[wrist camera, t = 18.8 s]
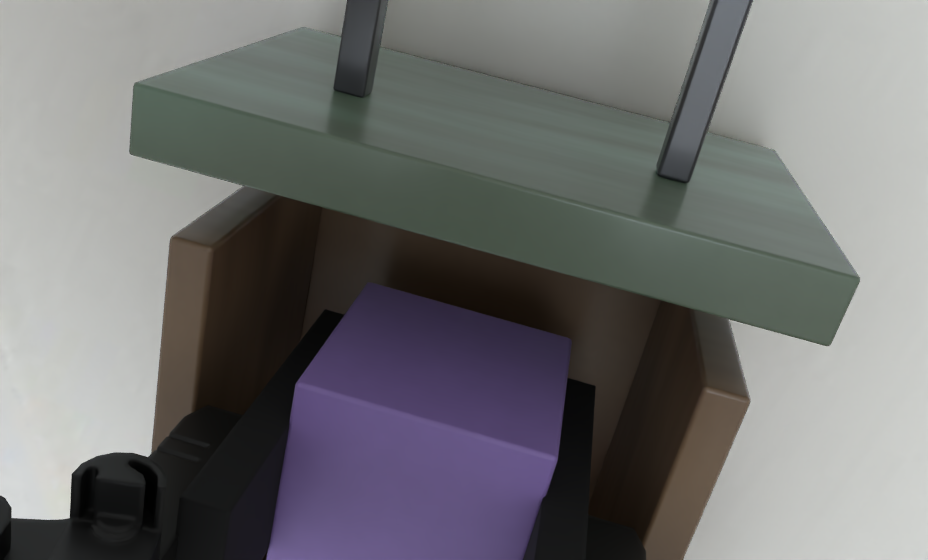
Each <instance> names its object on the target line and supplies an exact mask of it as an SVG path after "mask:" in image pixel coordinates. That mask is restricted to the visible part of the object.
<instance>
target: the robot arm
mask: <svg viewBox="0 0 928 560" xmlns="http://www.w3.org/2000/svg"><path fill="white" fill-rule="evenodd" d="M343 317H344V314H341V313H337V312H334V311H330V310H327V309H325V310H324V311H323V312H322V313H321V315H320V316H319V317H318V319H317V320H316V321H315V323H314V324H313V325H312V326H311V328H310V329H309V330H308V332H307V333H306V334H305V336H304V337H303V338H302V339H301V341H300V342H299V343H298V345H297V346H296V347H295V348H294V350H293V351H292V352H291V354H290V355H289V356H288V358H287V359H286V360H285V361H284V363H283V364H282V365H281V367H280V368H279V369H278V370H277V372H276V373H275V374H274V376H273V377H272V378H271V380H270V381H269V382H268V383H267V385H266V386H265V387H264V389H263V390H262V391H261V393H260V394H259V395H258V396H257V398H256V399H255V400H254V402H253V403H252V404H251V405H250V407H249V408H248V409H247V411H246V412H245V413H244V415H241V414H237V413H234V412H230V411H227V410H224V409H220V408H217V407H213V406H210V405H207V406H205V407H203V408H201V409H199V410H197V411H195V412H193V413H190V414H188V415H186V416H184V418H183V419H182V420H181V421H180V422H179V423H178V424H177V425H176V427H175V428H174V429H173V430H172V431H171V432H170V434H169V436H168V437H166V438H165V439H164V440H163V441H162V442H161V443H160V445H159V446H158V447H157V450H154V451H153V452H152V454H151V455H150V456H149V457H145V456H142V455H138V454H135V453H110V454H105V455H100V456H96V457H94V458H92V459H90V460H88V461H86V462H84V463H82V464H81V465H80V466H79V467H78V468H77V469H76V470H75V471H74V472H73V473H72V483H71V507H70V518H69V519H64V520H37V519H17V518H11V507H10V505H9V504H8V502H7V501H6V499H5V498H4V497H2V496H0V560H262V559H263V557H264V555H265V553H266V552H267V550H268V548H269V544H270V538H271V532H272V526H273V520H274V515H275V509H276V503H277V497H278V491H279V485H280V479H281V473H282V467H283V461H284V455H285V449H286V443H287V437H288V431H289V425H290V414H291V408H292V402H293V396H294V390H295V384H296V383H297V381H298V380H299V379H300V377H301V376H302V374H303V373H304V371H305V370H306V369H307V367H308V366H309V364H310V363H311V362H312V360H313V359H314V357H315V356H316V355H317V353H318V352H319V350H320V349H321V348H322V346H323V345H324V343H325V342H326V340H327V339H328V338H329V336H330V335H331V333H332V332H333V331H334V329H335V328H336V326H337V325H338V324H339V322H340V321H341V319H342V318H343ZM595 390H596V386H594V385H591V384H587V383H584V382H580V381H577V380H573V379H570V378H567V386H566V395H565V403H564V412H563V420H562V429H561V437H560V445H559V454H558V461H557V464H556V467H555V470H554V473H553V476H552V479H551V482H550V485H549V488H548V491H547V494H546V496H545V497H543V500H542V503H541V506H540V509H539V512H538V515H537V518H536V521H535V524H534V527H533V530H532V533H531V536H530V539H529V542H528V546H527V549H526V552H525V555H524V558H523V560H646V550H645V548H644V546H643V544H642V543H641V541H640V539H639V537H638V535H637V533H636V531H635V529H634V528H631V527H628V526H624V525H621V524H618V523H614V522H611V521H607V520H604V519H601V518H597V517H594V516H590V515H588V507H589V490H590V474H591V457H592V440H593V424H594V407H595Z"/></svg>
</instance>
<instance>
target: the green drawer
mask: <svg viewBox="0 0 928 560" xmlns="http://www.w3.org/2000/svg"><path fill="white" fill-rule="evenodd" d="M752 2H753V0H710V3H709V6H708V9H707V12H706V15H705V18H704V21H703V24H702V27H701V30H700V33H699V36H698V40H697V43H696V46H695V49H694V52H693V55H692V58H691V61H690V64H689V67H688V70H687V73H686V76H685V79H684V82H683V85H682V88H681V91H680V94H679V97H678V100H677V103H676V106H675V109H674V112H673V115H672V119H671V122H666V121H662V120H658V119H654V118H651V117H647V116H643V115H639V114H635V113H631V112H628V111H624V110H620V109H616V108H612V107H608V106H605V105H601V104H597V103H593V102H589V101H585V100H582V99H578V98H574V97H570V96H566V95H562V94H559V93H555V92H551V91H547V90H543V89H540V88H536V87H532V86H528V85H524V84H520V83H517V82H513V81H509V80H505V79H501V78H497V77H494V76H490V75H486V74H482V73H478V72H474V71H471V70H467V69H463V68H459V67H455V66H451V65H448V64H444V63H440V62H436V61H432V60H429V59H425V58H421V57H417V56H413V55H409V54H406V53H402V52H398V51H394V50H390V49H386V48H383V47H380V44H381V38H382V33H383V27H384V21H385V16H386V10H387V5H388V0H347V4H346V11H345V17H344V23H343V29H342V36H341V37H340V36H337V35H333V34H329V33H325V32H321V31H317V30H314V29H310V28H306V27H301V28H298V29H295V30H292V31H289V32H286V33H283V34H280V35H277V36H274V37H271V38H268V39H265V40H262V41H259V42H256V43H253V44H250V45H247V46H244V47H241V48H238V49H235V50H232V51H229V52H226V53H223V54H220V55H217V56H214V57H211V58H208V59H205V60H202V61H199V62H196V63H193V64H190V65H187V66H184V67H181V68H178V69H175V70H172V71H169V72H166V73H163V74H160V75H157V76H154V77H151V78H148V79H145V80H142V81H139V82H136V83H135V84H134V86H133V102H132V118H131V134H130V150H129V152H130V154H131V155H134V156H138V157H141V158H145V159H149V160H152V161H156V162H160V163H163V164H167V165H170V166H174V167H178V168H181V169H185V170H189V171H192V172H196V173H200V174H203V175H207V176H210V177H214V178H218V179H221V180H225V181H229V182H232V183H236V184H239V185H243V187H242V188H240V189H239V190H237V191H236V192H234V193H233V194H232V195H230V196H229V197H227V198H226V199H225V200H223V201H222V202H220V203H219V204H217V205H216V206H215V207H213V208H212V209H210V210H209V211H207V212H206V213H205V214H203V215H202V216H200V217H199V218H197V219H196V220H195V221H193V222H192V223H190V224H189V225H187V226H186V227H185V228H183V229H182V230H180V231H179V232H177V233H176V234H175V235H173V236H172V237H171V239H170V246H169V257H168V269H167V280H166V292H165V303H164V315H163V326H162V338H161V349H160V360H159V372H158V383H157V395H156V406H155V418H154V429H153V441H152V452H153V451H154V450H157V447H158V446H159V445H160V443H161V442H162V441H163V440H164V439H165V438H166V437H168V436H169V434H170V432H171V431H172V430H173V429H174V428H175V427H176V425H177V424H178V423H179V422H180V421H181V420H182V419H183V418H184V416H186V415H188V414H190V413H193V412H195V411H197V410H199V409H201V408H203V407H205V406H207V405H210V406H213V407H217V408H220V409H224V410H227V411H230V412H234V413H237V414H241V415H244V413H245V412H246V411H247V409H248V408H249V407H250V405H251V404H252V403H253V402H254V400H255V399H256V398H257V396H258V395H259V394H260V393H261V391H262V390H263V389H264V387H265V386H266V385H267V383H268V382H269V381H270V380H271V378H272V377H273V376H274V374H275V373H276V372H277V370H278V369H279V368H280V367H281V365H282V364H283V363H284V361H285V360H286V359H287V358H288V356H289V355H290V354H291V352H292V351H293V350H294V348H295V347H296V346H297V345H298V343H299V342H300V341H301V339H302V338H303V337H304V336H305V334H306V333H307V332H308V330H309V329H310V328H311V326H312V325H313V324H314V323H315V321H316V320H317V319H318V317H319V316H320V315H321V313H322V312H323V311H324V310H325V309H327V310H330V311H334V312H337V313H341V314H344V315H345V314H346V312H347V311H348V309H349V308H350V307H351V305H352V304H353V302H354V301H355V300H356V298H357V297H358V295H359V294H360V293H361V291H362V290H363V288H364V287H365V286H366V284H367V283H375V284H378V285H382V286H385V287H389V288H392V289H396V290H400V291H403V292H407V293H410V294H414V295H417V296H421V297H425V298H428V299H432V300H435V301H439V302H442V303H446V304H449V305H453V306H457V307H460V308H464V309H467V310H471V311H474V312H478V313H482V314H485V315H489V316H492V317H496V318H499V319H503V320H506V321H510V322H514V323H517V324H521V325H524V326H528V327H531V328H535V329H539V330H542V331H546V332H549V333H553V334H556V335H560V336H564V337H567V338H569V339H571V342H572V344H571V353H570V361H569V370H568V378H570V379H573V380H577V381H580V382H584V383H587V384H591V385H594V386H596V390H595V407H594V424H593V440H592V457H591V474H590V490H589V507H588V515H590V516H594V517H597V518H601V519H604V520H607V521H611V522H614V523H618V524H621V525H624V526H628V527H631V528H634V529H635V531H636V533H637V535H638V537H639V539H640V541H641V543H642V544H643V546H644V548H645V550H646V560H683V558H684V556H685V554H686V551H687V549H688V547H689V544H690V542H691V540H692V537H693V535H694V533H695V530H696V528H697V526H698V523H699V521H700V519H701V516H702V514H703V512H704V509H705V507H706V505H707V502H708V500H709V498H710V495H711V493H712V491H713V488H714V486H715V484H716V481H717V479H718V477H719V474H720V472H721V470H722V467H723V465H724V463H725V460H726V458H727V456H728V453H729V451H730V449H731V446H732V444H733V442H734V439H735V437H736V435H737V432H738V430H739V428H740V425H741V423H742V421H743V418H744V416H745V413H746V411H747V409H748V406H749V404H750V396H749V393H748V389H747V385H746V381H745V378H744V374H743V370H742V366H741V363H740V359H739V355H738V351H737V348H736V344H735V340H734V336H733V333H732V329H731V325H730V321H729V319H730V320H734V321H737V322H741V323H745V324H748V325H752V326H755V327H759V328H763V329H766V330H770V331H774V332H777V333H781V334H785V335H788V336H792V337H795V338H799V339H803V340H806V341H810V342H814V343H817V344H821V345H825V346H830V345H831V343H832V341H833V339H834V336H835V334H836V332H837V330H838V328H839V325H840V323H841V321H842V319H843V317H844V315H845V312H846V310H847V308H848V306H849V304H850V301H851V299H852V297H853V295H854V293H855V291H856V288H857V286H858V284H859V282H860V277H859V276H858V274H857V273H856V271H855V270H854V268H853V267H852V265H851V264H850V262H849V261H848V259H847V258H846V256H845V255H844V253H843V252H842V250H841V249H840V247H839V246H838V244H837V243H836V241H835V240H834V238H833V237H832V235H831V234H830V232H829V231H828V229H827V228H826V226H825V225H824V223H823V222H822V220H821V219H820V217H819V216H818V214H817V213H816V211H815V210H814V208H813V207H812V205H811V204H810V202H809V201H808V199H807V198H806V196H805V195H804V193H803V192H802V190H801V189H800V187H799V186H798V184H797V183H796V181H795V180H794V178H793V177H792V175H791V174H790V172H789V171H788V169H787V168H786V166H785V165H784V163H783V162H782V160H781V159H780V157H779V156H778V154H777V153H776V151H775V150H773V149H769V148H765V147H762V146H758V145H754V144H750V143H746V142H742V141H739V140H735V139H731V138H727V137H723V136H719V135H716V134H712V133H708V132H707V131H708V128H709V126H710V123H711V120H712V117H713V114H714V111H715V108H716V105H717V103H718V100H719V97H720V94H721V91H722V88H723V85H724V83H725V80H726V77H727V74H728V71H729V68H730V65H731V63H732V60H733V57H734V54H735V51H736V48H737V45H738V42H739V40H740V37H741V34H742V31H743V28H744V25H745V22H746V20H747V17H748V14H749V11H750V8H751V5H752ZM152 452H151V454H152ZM267 552H268V550H267ZM267 552H266V553H265V555H264V557H263V559H262V560H266V557H267Z"/></svg>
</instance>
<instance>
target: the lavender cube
mask: <svg viewBox="0 0 928 560" xmlns="http://www.w3.org/2000/svg"><path fill="white" fill-rule="evenodd" d="M571 344H572V342H571V339H569V338H567V337H564V336H560V335H556V334H553V333H549V332H546V331H542V330H539V329H535V328H531V327H528V326H524V325H521V324H517V323H514V322H510V321H506V320H503V319H499V318H496V317H492V316H489V315H485V314H482V313H478V312H474V311H471V310H467V309H464V308H460V307H457V306H453V305H449V304H446V303H442V302H439V301H435V300H432V299H428V298H425V297H421V296H417V295H414V294H410V293H407V292H403V291H400V290H396V289H392V288H389V287H385V286H382V285H378V284H375V283H367V284H366V286H365V287H364V288H363V290H362V291H361V293H360V294H359V295H358V297H357V298H356V300H355V301H354V302H353V304H352V305H351V307H350V308H349V309H348V311H347V312H346V314H345V315H344V317H343V318H342V319H341V321H340V322H339V324H338V325H337V326H336V328H335V329H334V331H333V332H332V333H331V335H330V336H329V338H328V339H327V340H326V342H325V343H324V345H323V346H322V348H321V349H320V350H319V352H318V353H317V355H316V356H315V357H314V359H313V360H312V362H311V363H310V364H309V366H308V367H307V369H306V370H305V371H304V373H303V374H302V376H301V377H300V379H299V380H298V381H297V383H296V384H295V390H294V396H293V402H292V408H291V414H290V425H289V431H288V437H287V443H286V449H285V455H284V461H283V467H282V473H281V479H280V485H279V491H278V497H277V503H276V509H275V515H274V520H273V526H272V532H271V538H270V544H269V548H268V552H267V557H266V560H523V558H524V555H525V552H526V549H527V546H528V542H529V539H530V536H531V533H532V530H533V527H534V524H535V521H536V518H537V515H538V512H539V509H540V506H541V503H542V500H543V497H545V496H546V494H547V491H548V488H549V485H550V482H551V479H552V476H553V473H554V470H555V467H556V464H557V461H558V454H559V445H560V437H561V429H562V420H563V412H564V403H565V395H566V386H567V378H568V370H569V361H570V353H571Z"/></svg>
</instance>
